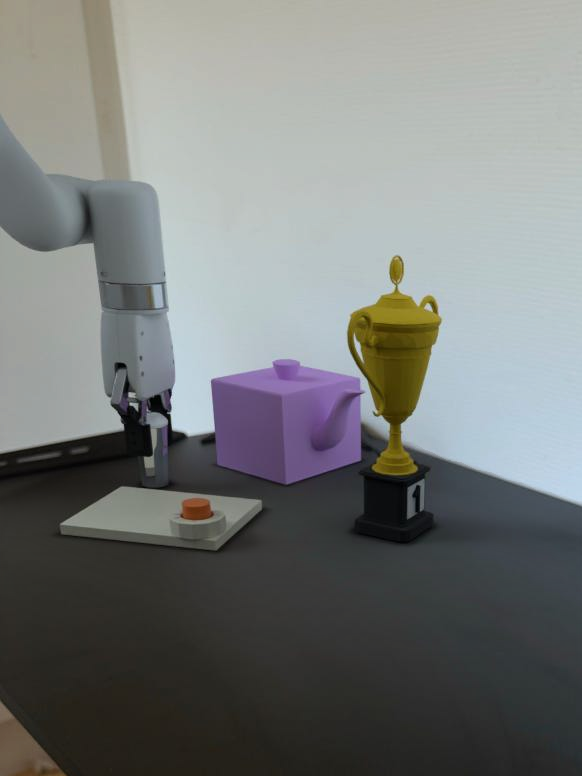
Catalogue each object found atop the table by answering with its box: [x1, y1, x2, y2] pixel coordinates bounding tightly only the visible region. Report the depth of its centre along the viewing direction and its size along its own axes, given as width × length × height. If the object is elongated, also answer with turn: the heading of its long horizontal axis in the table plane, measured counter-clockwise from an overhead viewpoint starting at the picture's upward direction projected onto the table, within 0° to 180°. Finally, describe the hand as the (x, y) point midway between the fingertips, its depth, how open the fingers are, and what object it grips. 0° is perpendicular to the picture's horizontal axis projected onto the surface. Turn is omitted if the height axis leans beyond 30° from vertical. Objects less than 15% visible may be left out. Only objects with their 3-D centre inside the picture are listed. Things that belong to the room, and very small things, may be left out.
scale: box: [59, 485, 263, 552], centre depth 107 cm, size 18×14×3 cm
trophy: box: [346, 254, 443, 543], centre depth 102 cm, size 19×10×30 cm, turn 155°
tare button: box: [182, 498, 211, 520], centre depth 101 cm, size 3×3×2 cm
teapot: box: [210, 358, 366, 486], centre depth 127 cm, size 15×25×14 cm, turn 56°
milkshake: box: [136, 411, 169, 489], centre depth 117 cm, size 4×5×10 cm
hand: (150, 448), depth 117 cm, fingers closed on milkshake, 4 cm apart
